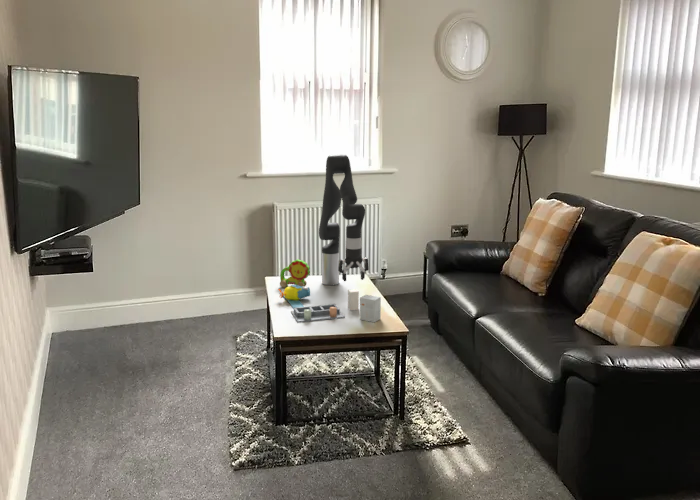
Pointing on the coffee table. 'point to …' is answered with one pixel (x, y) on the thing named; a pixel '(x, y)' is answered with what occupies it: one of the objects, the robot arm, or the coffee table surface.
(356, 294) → the plug
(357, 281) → the coffee table surface
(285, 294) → the blue yellow plastic figure
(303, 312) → the grey compartment tray
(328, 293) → the coffee table surface
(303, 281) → the toy lion
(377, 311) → the small box
